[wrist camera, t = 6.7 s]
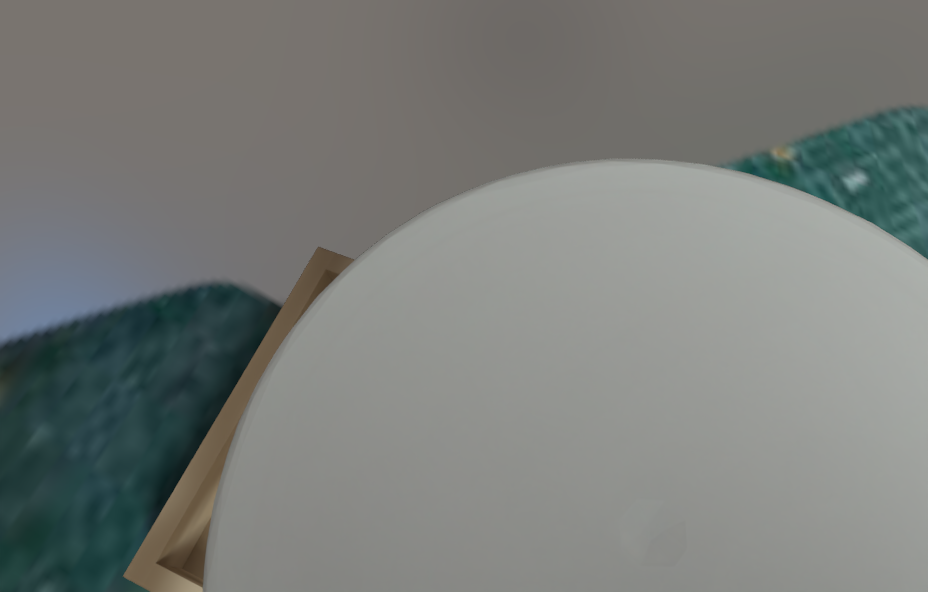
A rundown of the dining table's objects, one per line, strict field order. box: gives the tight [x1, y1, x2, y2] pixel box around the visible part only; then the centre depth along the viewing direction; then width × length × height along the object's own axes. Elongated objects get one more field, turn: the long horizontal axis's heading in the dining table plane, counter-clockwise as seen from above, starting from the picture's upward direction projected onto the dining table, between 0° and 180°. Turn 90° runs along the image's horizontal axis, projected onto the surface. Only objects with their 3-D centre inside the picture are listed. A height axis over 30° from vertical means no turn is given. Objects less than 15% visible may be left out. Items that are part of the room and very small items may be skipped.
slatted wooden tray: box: [123, 247, 354, 592], centre depth 32 cm, size 15×17×4 cm
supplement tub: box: [203, 159, 928, 592], centre depth 14 cm, size 10×10×15 cm
